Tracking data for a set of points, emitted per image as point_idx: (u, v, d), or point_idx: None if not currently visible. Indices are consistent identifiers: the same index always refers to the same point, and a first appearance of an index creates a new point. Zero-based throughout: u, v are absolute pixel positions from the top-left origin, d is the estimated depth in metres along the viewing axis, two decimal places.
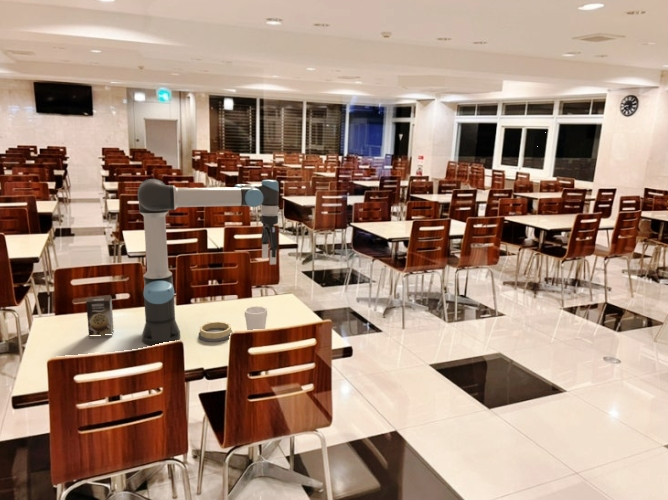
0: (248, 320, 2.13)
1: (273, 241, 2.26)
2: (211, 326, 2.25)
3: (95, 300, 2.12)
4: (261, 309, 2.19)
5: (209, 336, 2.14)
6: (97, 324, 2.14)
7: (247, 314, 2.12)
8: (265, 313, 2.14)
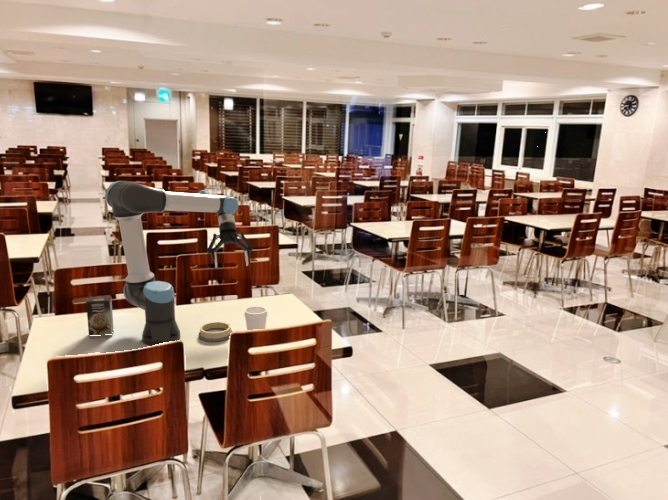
0: (248, 320, 2.13)
1: None
2: (211, 326, 2.25)
3: (95, 300, 2.12)
4: (261, 309, 2.19)
5: (209, 336, 2.14)
6: (97, 324, 2.14)
7: (247, 314, 2.12)
8: (265, 313, 2.14)
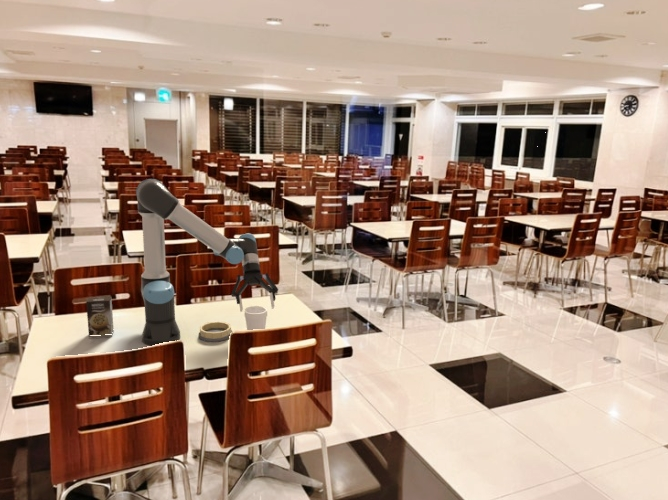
0: (248, 320, 2.13)
1: None
2: (211, 326, 2.25)
3: (95, 300, 2.12)
4: (261, 309, 2.19)
5: (209, 336, 2.14)
6: (97, 324, 2.14)
7: (247, 314, 2.12)
8: (265, 313, 2.14)
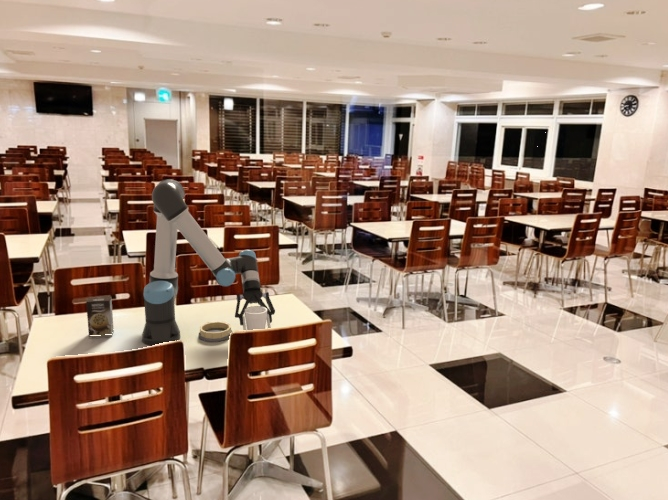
0: (248, 320, 2.13)
1: None
2: (211, 326, 2.25)
3: (95, 300, 2.12)
4: (261, 309, 2.19)
5: (209, 336, 2.14)
6: (97, 324, 2.14)
7: (247, 314, 2.12)
8: (265, 313, 2.14)
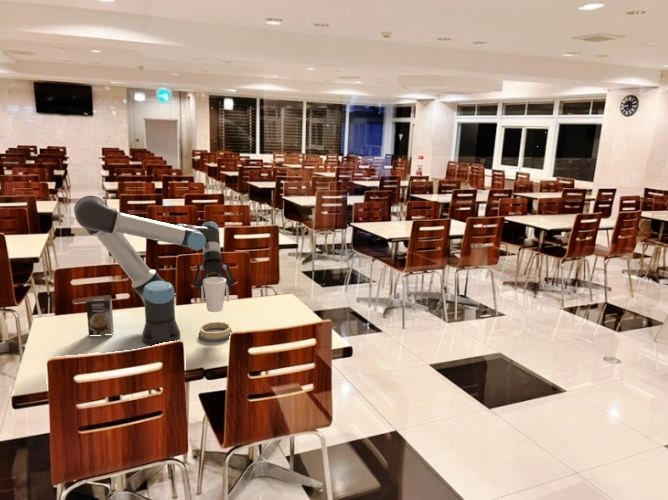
0: (206, 290, 2.12)
1: None
2: (211, 326, 2.25)
3: (95, 300, 2.12)
4: (221, 280, 2.19)
5: (209, 336, 2.14)
6: (97, 324, 2.14)
7: (205, 283, 2.12)
8: (223, 283, 2.13)
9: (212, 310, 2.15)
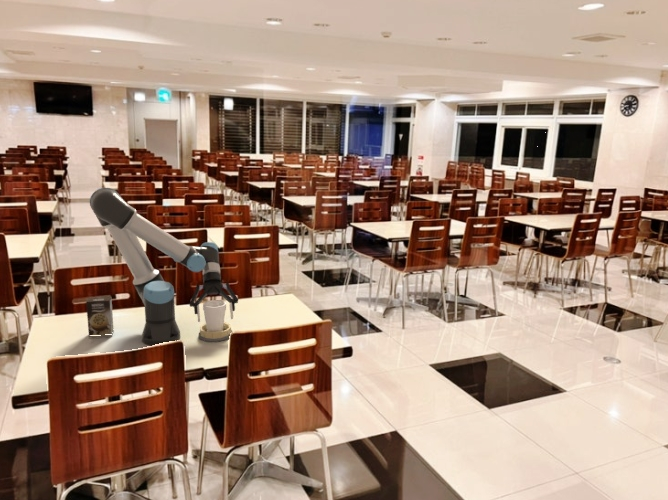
0: (206, 314, 2.15)
1: None
2: None
3: (95, 300, 2.12)
4: (221, 303, 2.21)
5: (209, 336, 2.14)
6: (97, 324, 2.14)
7: (205, 308, 2.14)
8: (223, 307, 2.16)
9: None
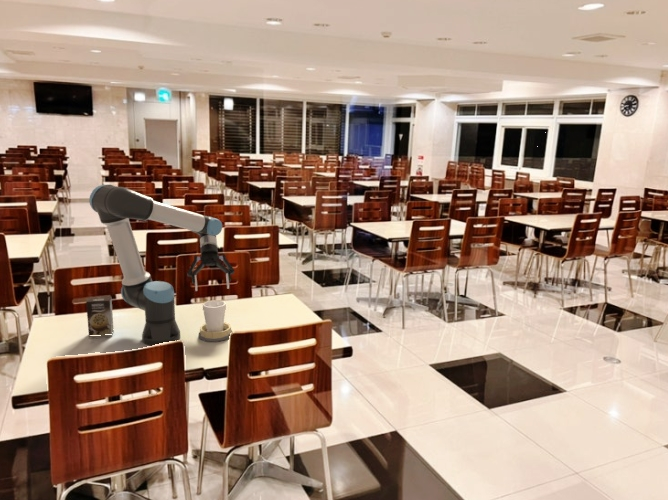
0: (206, 314, 2.15)
1: None
2: None
3: (95, 300, 2.12)
4: (220, 303, 2.21)
5: (209, 336, 2.14)
6: (97, 324, 2.14)
7: (205, 308, 2.14)
8: (223, 307, 2.16)
9: None
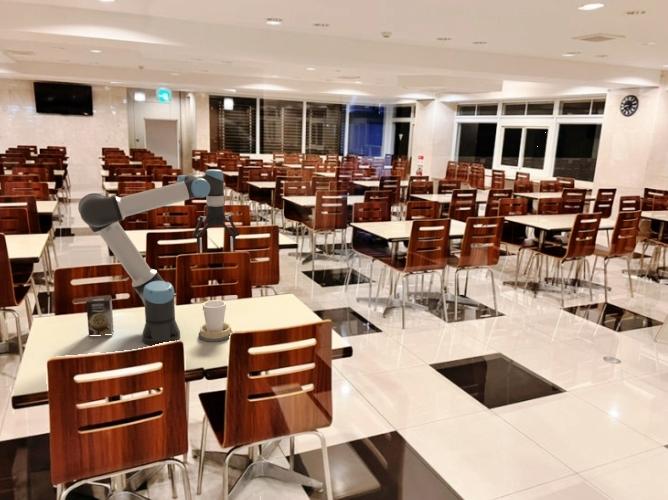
0: (206, 314, 2.15)
1: None
2: None
3: (95, 300, 2.12)
4: (220, 303, 2.21)
5: (209, 336, 2.14)
6: (97, 324, 2.14)
7: (205, 308, 2.14)
8: (223, 307, 2.16)
9: None
